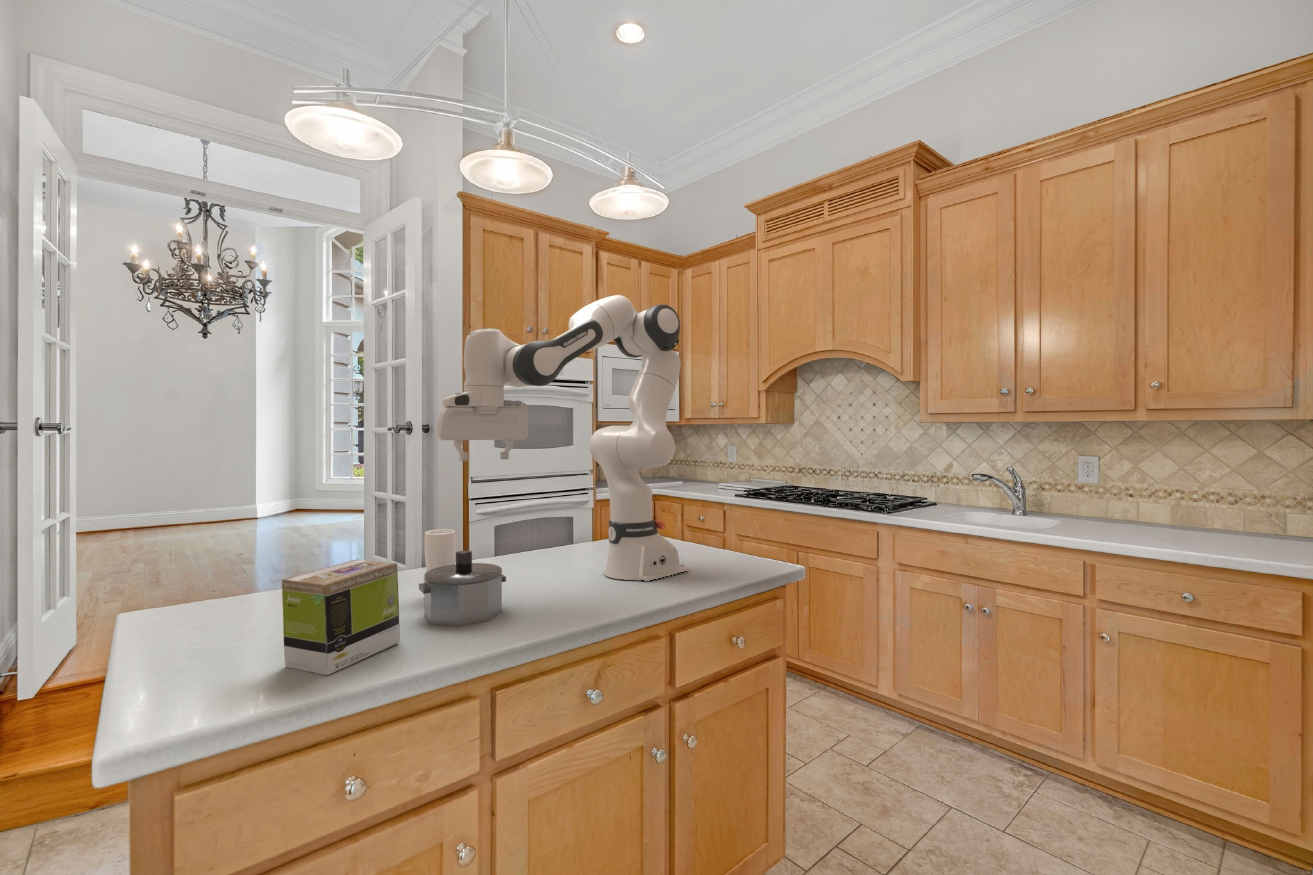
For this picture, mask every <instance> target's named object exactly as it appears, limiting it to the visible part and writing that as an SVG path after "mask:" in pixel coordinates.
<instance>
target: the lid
mask: <svg viewBox="0 0 1313 875" xmlns="http://www.w3.org/2000/svg"><path fill="white" fill-rule="evenodd" d="M501 574H502V575H503V568H502V567H501V566H499V565H496V564H492V563H483V562H473V551H471V550H460V551H456V555H455V564H453V565H447V566H442V567H438V568H434V569H432V570H429V571H428V572H426V571H425V573H424V577H425V581H426V582H428V583H431V584H437V585H468V584H476V583H482V582H486V581H490V580H493V579H496V578H498V577H499V576H501Z"/></svg>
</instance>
